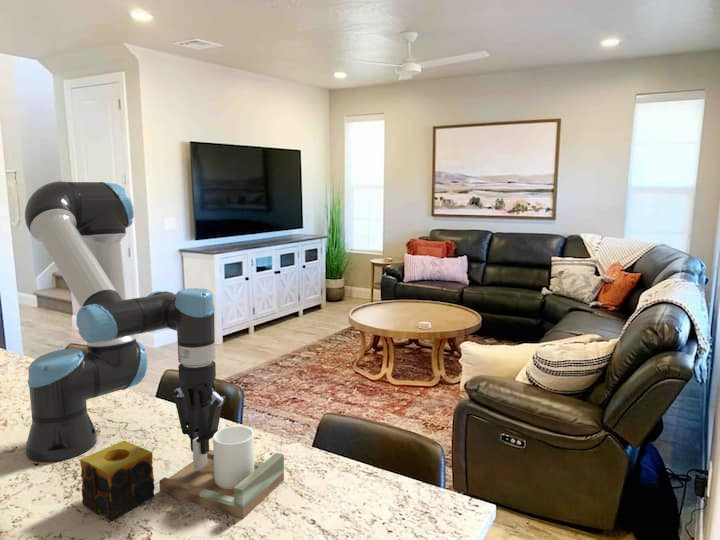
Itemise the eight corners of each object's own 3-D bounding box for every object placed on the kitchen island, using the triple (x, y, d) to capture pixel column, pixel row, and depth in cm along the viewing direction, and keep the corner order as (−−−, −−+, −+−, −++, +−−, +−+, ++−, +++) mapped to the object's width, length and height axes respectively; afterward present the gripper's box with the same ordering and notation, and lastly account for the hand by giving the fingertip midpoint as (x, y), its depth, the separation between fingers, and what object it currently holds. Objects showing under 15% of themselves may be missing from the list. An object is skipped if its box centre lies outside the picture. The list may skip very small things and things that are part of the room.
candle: (110, 523, 99) (107, 474, 98) (80, 505, 104) (77, 459, 103) (156, 497, 108) (154, 451, 106) (126, 482, 113) (124, 439, 111)
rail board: (159, 493, 109) (158, 466, 108) (207, 460, 122) (206, 436, 122) (243, 518, 101) (242, 490, 100) (284, 480, 114) (283, 454, 113)
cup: (224, 495, 105) (223, 448, 103) (201, 470, 114) (199, 426, 112) (261, 481, 110) (260, 436, 108) (236, 458, 119) (235, 416, 118)
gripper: (160, 363, 109) (164, 467, 112) (210, 372, 104) (213, 481, 107) (185, 353, 116) (188, 452, 119) (233, 361, 111) (235, 464, 114)
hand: (200, 465), depth 113 cm, fingers closed
